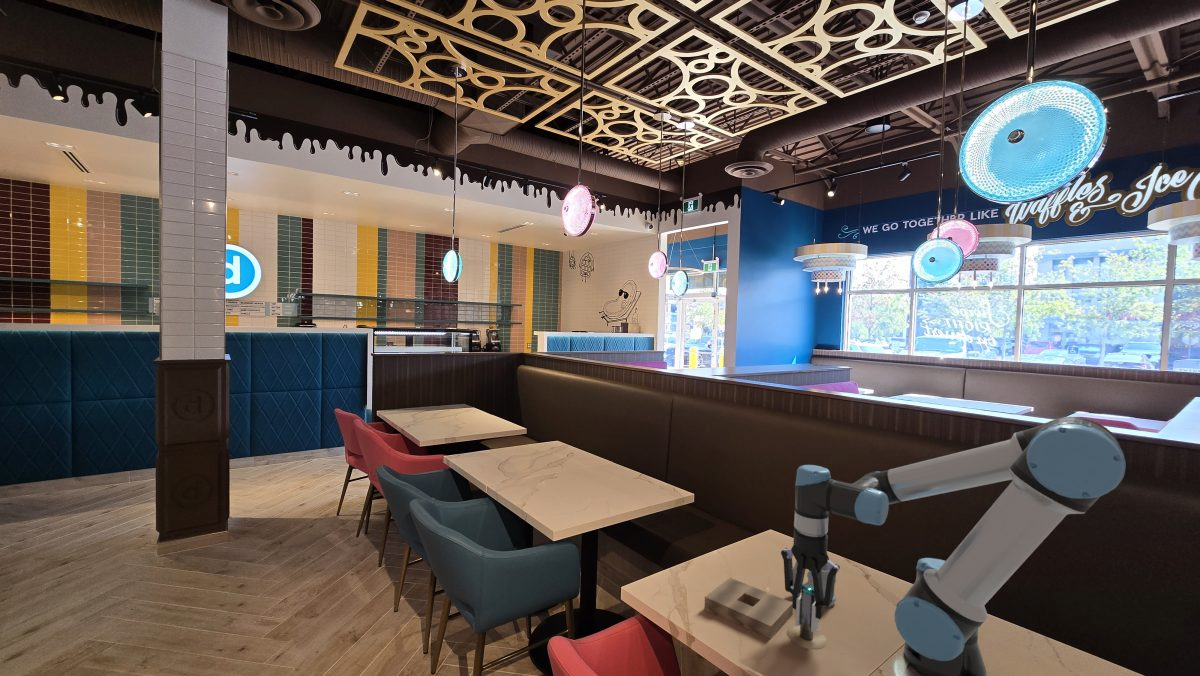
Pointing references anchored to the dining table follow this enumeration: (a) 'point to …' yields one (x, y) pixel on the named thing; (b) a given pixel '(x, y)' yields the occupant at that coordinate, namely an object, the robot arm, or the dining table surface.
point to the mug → (810, 580)
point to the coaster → (816, 643)
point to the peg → (806, 612)
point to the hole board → (749, 607)
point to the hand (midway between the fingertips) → (806, 626)
